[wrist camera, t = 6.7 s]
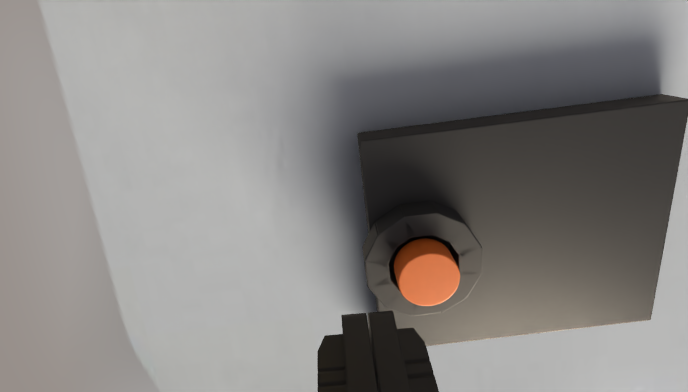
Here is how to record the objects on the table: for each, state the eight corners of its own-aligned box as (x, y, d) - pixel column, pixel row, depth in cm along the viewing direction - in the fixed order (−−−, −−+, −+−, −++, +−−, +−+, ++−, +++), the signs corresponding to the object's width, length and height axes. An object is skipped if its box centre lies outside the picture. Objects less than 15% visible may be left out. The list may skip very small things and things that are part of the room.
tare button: (395, 291, 22) (400, 310, 20) (391, 241, 21) (395, 257, 19) (452, 285, 22) (461, 302, 20) (450, 234, 21) (460, 249, 19)
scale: (372, 331, 26) (377, 373, 23) (348, 133, 22) (351, 150, 18) (629, 301, 26) (672, 339, 23) (661, 93, 21) (721, 104, 18)
